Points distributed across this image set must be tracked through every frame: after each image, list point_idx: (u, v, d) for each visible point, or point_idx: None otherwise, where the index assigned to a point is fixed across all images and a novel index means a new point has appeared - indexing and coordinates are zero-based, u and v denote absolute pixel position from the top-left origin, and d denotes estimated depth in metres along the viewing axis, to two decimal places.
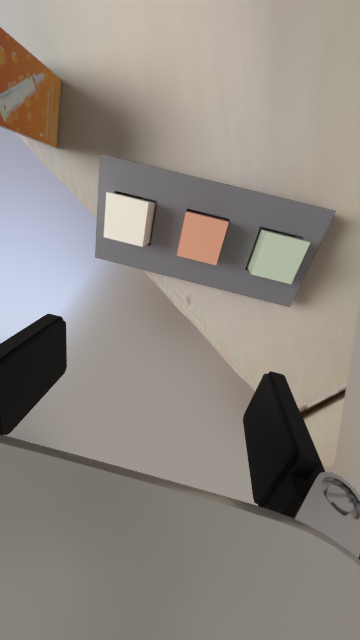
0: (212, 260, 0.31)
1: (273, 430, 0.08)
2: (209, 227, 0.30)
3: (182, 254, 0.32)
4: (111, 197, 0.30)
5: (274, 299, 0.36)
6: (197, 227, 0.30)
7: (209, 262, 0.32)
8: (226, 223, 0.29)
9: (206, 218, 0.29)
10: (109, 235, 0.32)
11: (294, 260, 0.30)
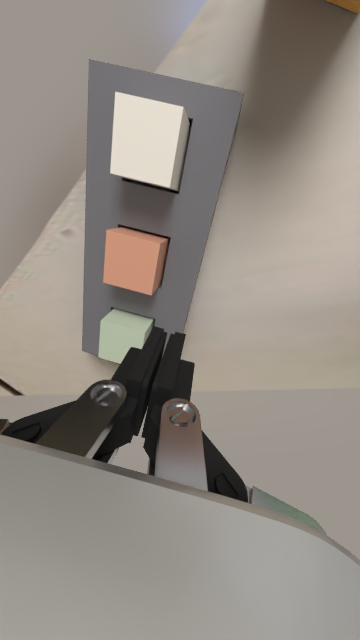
0: (108, 277, 0.25)
1: None
2: (144, 273, 0.24)
3: (109, 238, 0.23)
4: (175, 117, 0.18)
5: (86, 337, 0.34)
6: (143, 259, 0.24)
7: (105, 274, 0.25)
8: (150, 293, 0.25)
9: (153, 269, 0.24)
10: (118, 105, 0.19)
11: (121, 358, 0.30)
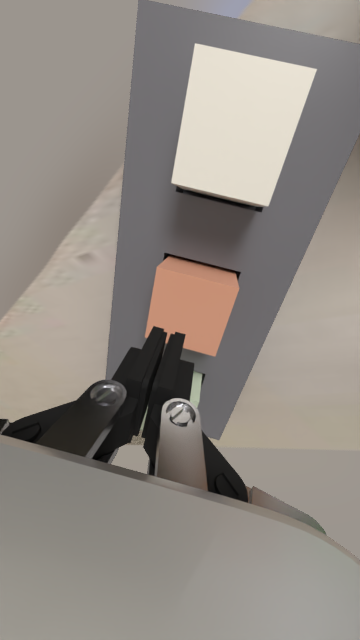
0: None
1: None
2: (209, 328, 0.17)
3: (159, 278, 0.16)
4: (299, 88, 0.11)
5: None
6: (209, 309, 0.16)
7: (148, 326, 0.17)
8: (213, 353, 0.17)
9: (224, 323, 0.16)
10: (197, 68, 0.11)
11: None
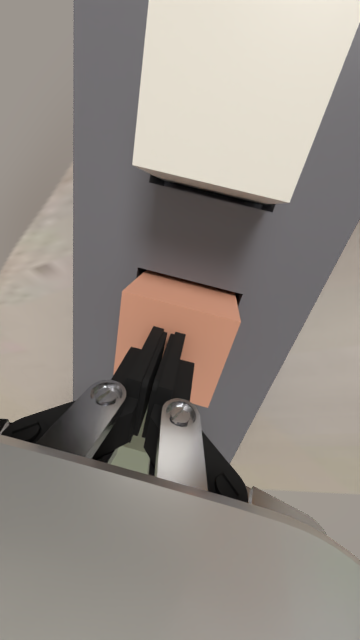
0: None
1: None
2: (198, 372, 0.12)
3: (127, 307, 0.11)
4: None
5: None
6: (199, 348, 0.11)
7: (116, 368, 0.13)
8: (205, 404, 0.13)
9: (219, 367, 0.12)
10: None
11: None
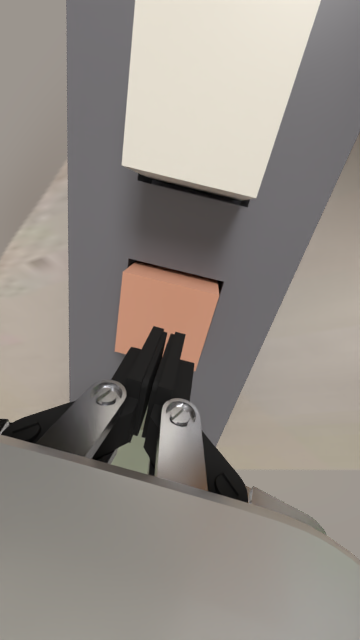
0: (123, 345, 0.15)
1: None
2: (186, 340, 0.15)
3: (127, 285, 0.13)
4: (298, 19, 0.07)
5: None
6: (186, 319, 0.14)
7: (118, 339, 0.15)
8: None
9: (203, 335, 0.14)
10: None
11: (134, 468, 0.18)
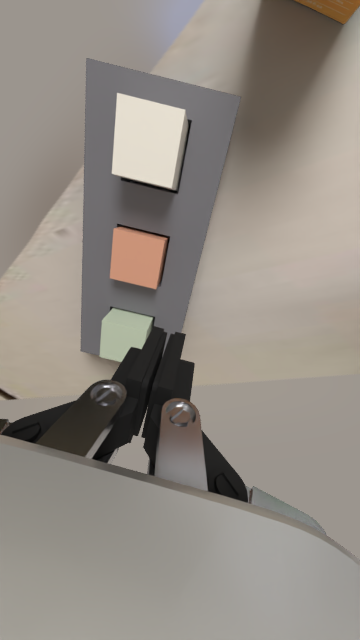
0: (114, 273, 0.27)
1: None
2: (149, 268, 0.26)
3: (116, 236, 0.25)
4: (177, 119, 0.19)
5: (84, 337, 0.34)
6: (148, 255, 0.26)
7: (111, 270, 0.27)
8: (154, 287, 0.27)
9: (158, 265, 0.26)
10: (120, 106, 0.19)
11: (122, 356, 0.30)
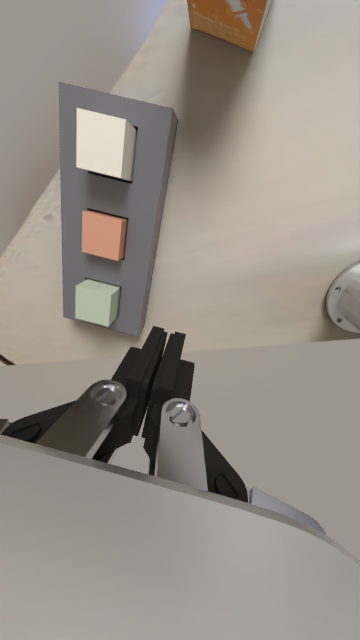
0: (85, 247, 0.34)
1: None
2: (112, 243, 0.33)
3: (84, 217, 0.32)
4: (120, 126, 0.26)
5: (66, 304, 0.41)
6: (110, 232, 0.32)
7: (82, 245, 0.34)
8: (116, 258, 0.34)
9: (118, 240, 0.33)
10: (79, 117, 0.26)
11: (93, 318, 0.37)
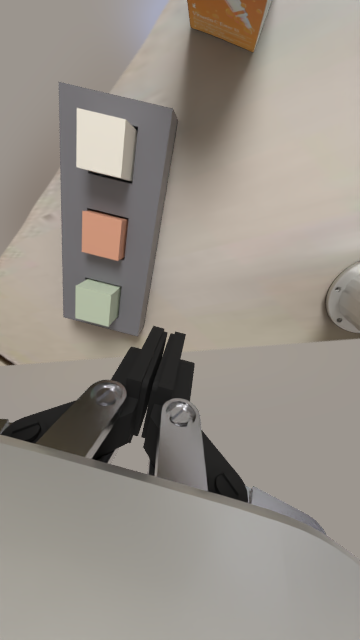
0: (85, 247, 0.34)
1: None
2: (112, 243, 0.33)
3: (84, 217, 0.32)
4: (120, 126, 0.26)
5: (66, 304, 0.41)
6: (110, 232, 0.32)
7: (82, 245, 0.34)
8: (116, 258, 0.34)
9: (118, 240, 0.33)
10: (79, 117, 0.26)
11: (93, 318, 0.37)
